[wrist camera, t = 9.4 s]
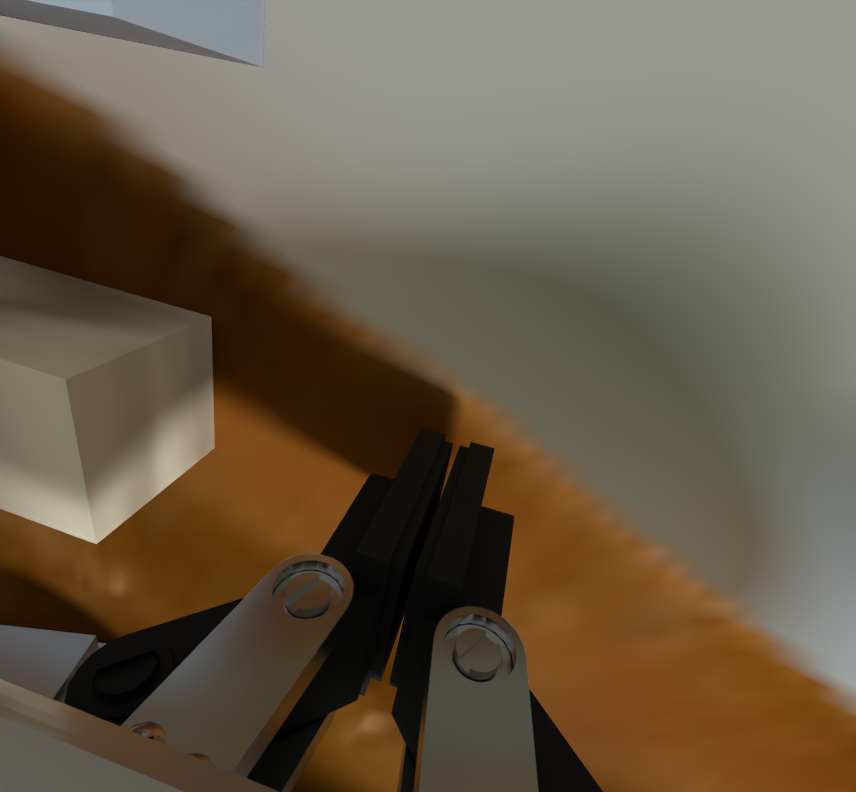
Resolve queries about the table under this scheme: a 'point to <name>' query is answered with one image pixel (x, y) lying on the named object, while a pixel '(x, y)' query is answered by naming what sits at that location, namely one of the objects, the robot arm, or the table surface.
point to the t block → (96, 399)
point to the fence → (159, 23)
